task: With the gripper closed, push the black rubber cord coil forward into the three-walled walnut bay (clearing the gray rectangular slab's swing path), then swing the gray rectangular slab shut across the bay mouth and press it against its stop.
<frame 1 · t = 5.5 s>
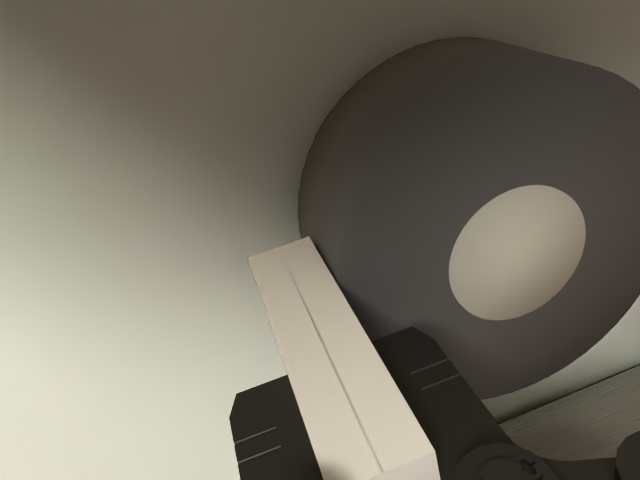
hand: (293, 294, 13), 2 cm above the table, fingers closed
coil: (443, 194, 15), on the table, touching gripper
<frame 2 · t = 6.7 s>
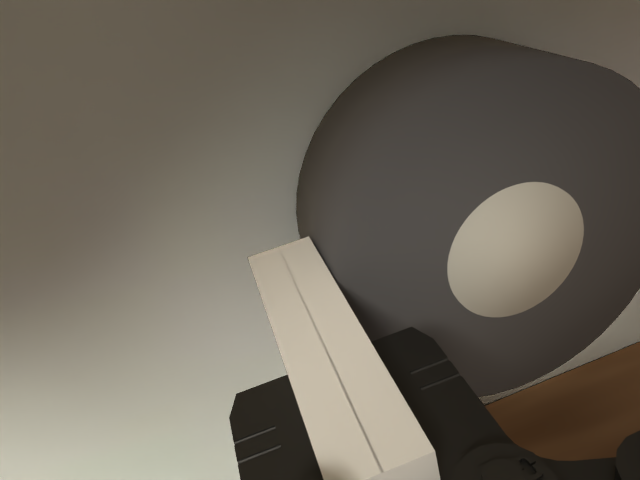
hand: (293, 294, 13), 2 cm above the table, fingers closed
bay: (449, 190, 15), on the table
coil: (441, 192, 15), on the table, touching gripper
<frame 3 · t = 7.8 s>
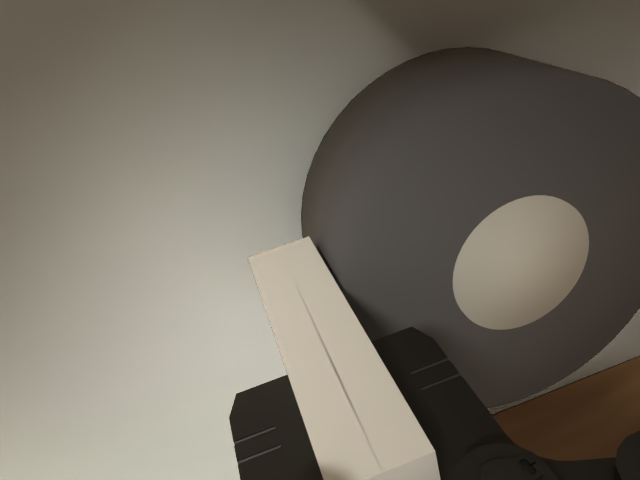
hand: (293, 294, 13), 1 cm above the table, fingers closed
bay: (320, 250, 15), on the table
coil: (446, 203, 15), on the table, touching gripper
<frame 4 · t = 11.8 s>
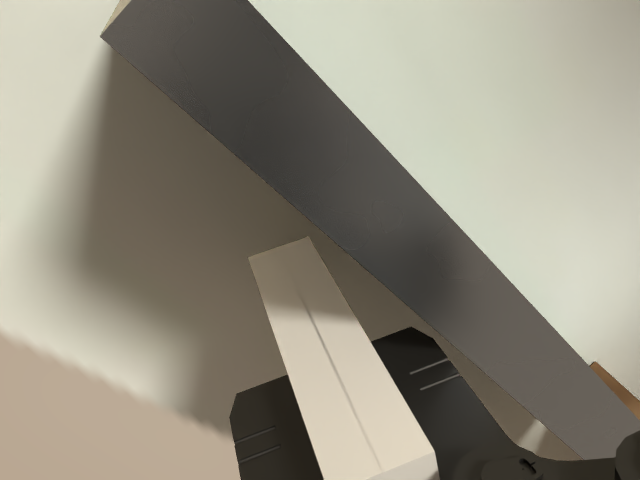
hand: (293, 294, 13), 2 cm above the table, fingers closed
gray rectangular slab: (480, 307, 13), point 4 cm above the table, hinge at 89.9°, touching gripper
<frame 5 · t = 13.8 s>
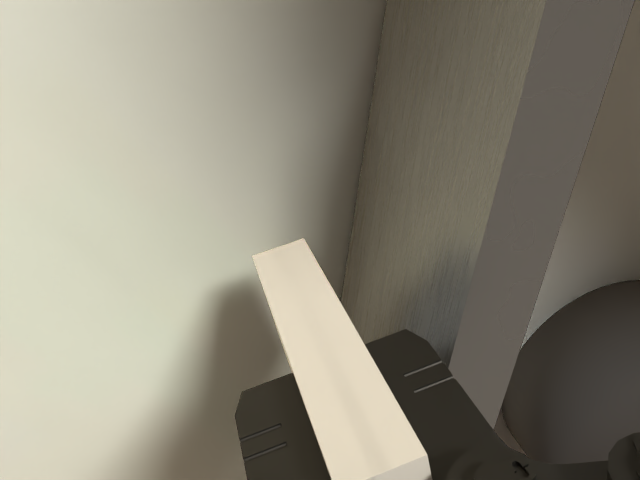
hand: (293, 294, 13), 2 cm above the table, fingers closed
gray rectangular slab: (407, 379, 14), point 4 cm above the table, hinge at 39.2°, touching gripper
coil: (598, 372, 21), on the table
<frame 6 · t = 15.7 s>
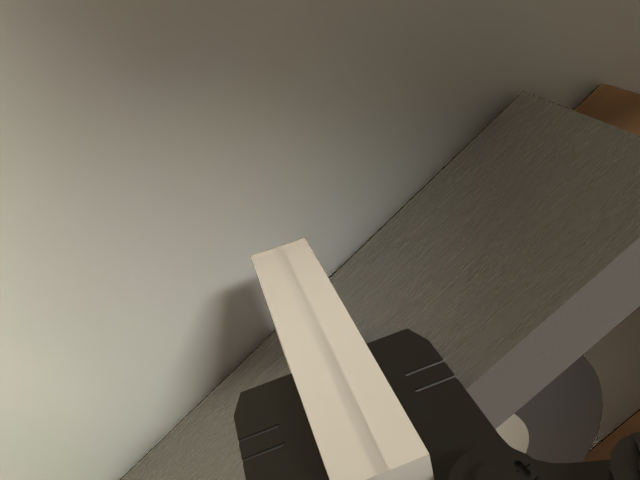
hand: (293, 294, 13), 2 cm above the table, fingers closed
bay: (351, 321, 17), on the table
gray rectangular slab: (324, 428, 13), point 4 cm above the table, hinge at -0.4°, touching gripper
coil: (424, 373, 19), on the table
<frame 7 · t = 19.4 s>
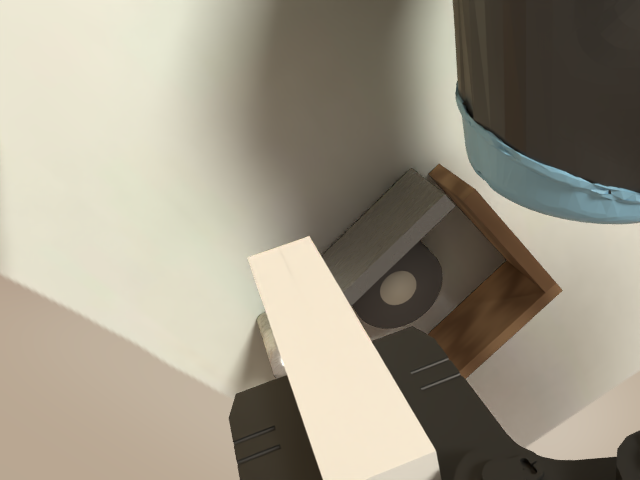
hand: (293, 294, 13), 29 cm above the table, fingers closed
bay: (355, 245, 48), on the table
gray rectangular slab: (349, 271, 45), point 4 cm above the table, hinge at -0.4°
coil: (382, 267, 50), on the table
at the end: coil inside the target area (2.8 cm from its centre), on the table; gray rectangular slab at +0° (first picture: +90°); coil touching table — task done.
